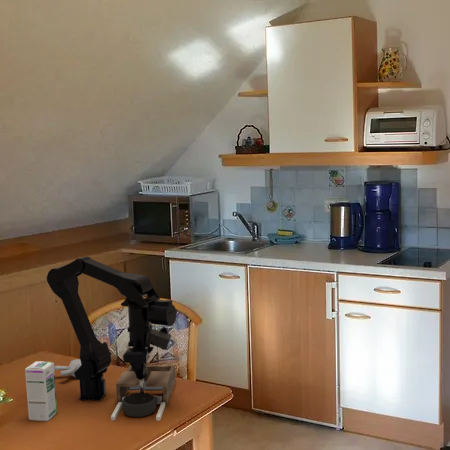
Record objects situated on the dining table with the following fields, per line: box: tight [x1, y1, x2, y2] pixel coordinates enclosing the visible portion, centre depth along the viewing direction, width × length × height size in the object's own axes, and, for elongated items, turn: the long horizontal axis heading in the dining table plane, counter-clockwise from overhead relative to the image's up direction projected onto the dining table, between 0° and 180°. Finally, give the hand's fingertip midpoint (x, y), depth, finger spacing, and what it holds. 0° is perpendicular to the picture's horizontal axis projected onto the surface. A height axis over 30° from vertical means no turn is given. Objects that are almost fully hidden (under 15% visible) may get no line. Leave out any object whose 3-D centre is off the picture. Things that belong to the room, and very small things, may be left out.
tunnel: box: [115, 364, 176, 407], centre depth 199 cm, size 14×19×6 cm
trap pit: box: [128, 381, 163, 391], centre depth 205 cm, size 12×6×1 cm, turn 87°
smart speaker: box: [121, 392, 157, 418], centre depth 186 cm, size 9×9×4 cm
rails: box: [110, 401, 166, 422], centre depth 185 cm, size 13×10×1 cm
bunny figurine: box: [54, 358, 81, 379], centre depth 215 cm, size 10×5×15 cm
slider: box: [122, 363, 163, 405], centre depth 190 cm, size 11×3×11 cm, turn 87°
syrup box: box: [24, 360, 59, 422], centre depth 183 cm, size 6×6×14 cm
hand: (141, 376), depth 190 cm, fingers open, 3 cm apart
